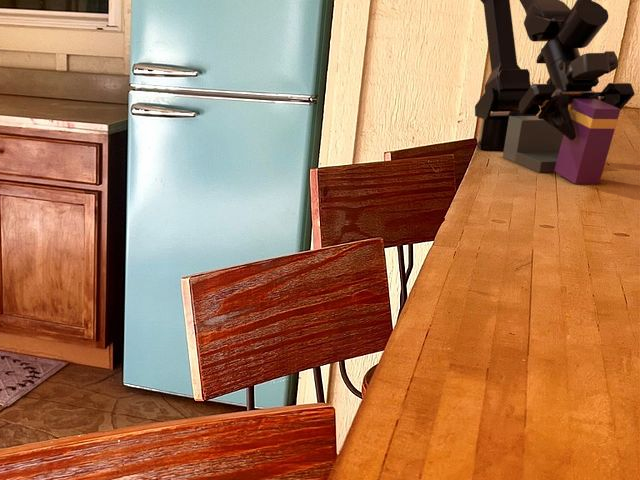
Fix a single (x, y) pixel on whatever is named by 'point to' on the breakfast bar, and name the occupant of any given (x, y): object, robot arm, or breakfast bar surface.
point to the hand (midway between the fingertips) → (589, 138)
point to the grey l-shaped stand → (532, 143)
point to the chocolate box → (587, 141)
